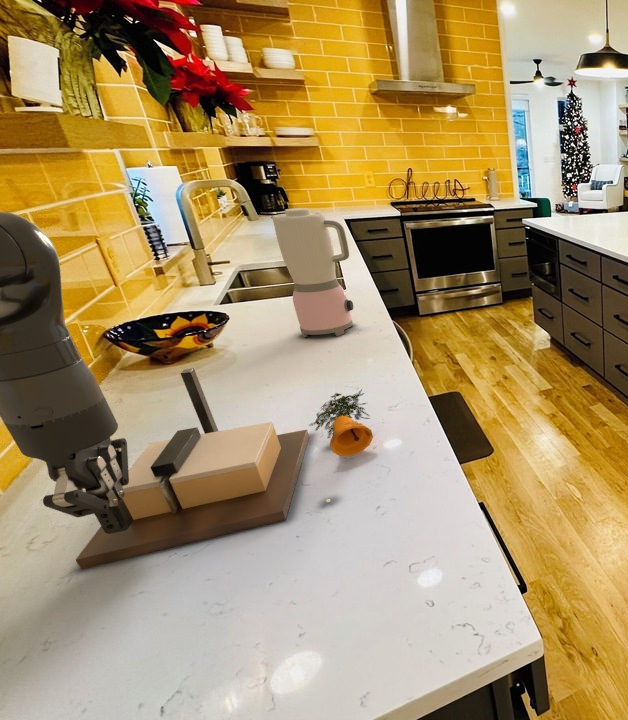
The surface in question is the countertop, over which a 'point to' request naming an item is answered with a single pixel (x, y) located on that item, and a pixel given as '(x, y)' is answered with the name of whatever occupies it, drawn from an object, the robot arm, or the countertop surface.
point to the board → (210, 516)
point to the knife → (174, 462)
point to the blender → (314, 270)
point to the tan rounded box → (227, 465)
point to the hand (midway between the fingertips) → (120, 528)
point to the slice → (145, 485)
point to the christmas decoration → (345, 426)
